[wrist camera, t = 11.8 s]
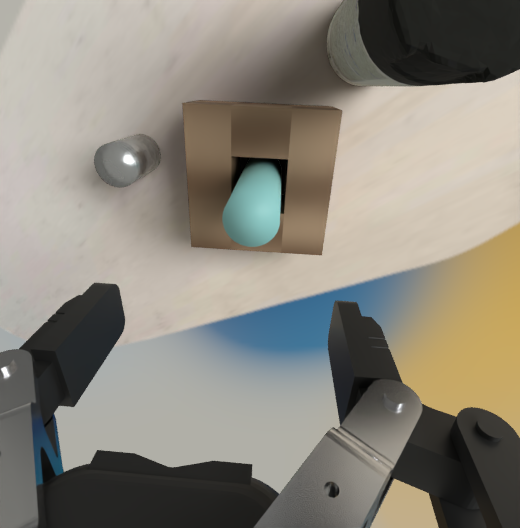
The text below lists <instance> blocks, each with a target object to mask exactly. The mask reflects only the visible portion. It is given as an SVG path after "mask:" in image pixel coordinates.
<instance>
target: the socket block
mask: <svg viewBox="0 0 520 528" xmlns="http://www.w3.org/2000/svg"><path fill="white" fill-rule="evenodd" d="M182 104H183V120H184V136H185V152H186V168H187V184H188V200H189V216H190V232H191V247H202V248H217V249H232V250H248V251H263V252H279V253H294V254H309V255H322V249H323V242H324V235H325V228H326V221H327V214H328V207H329V200H330V193H331V186H332V179H333V172H334V165H335V158H336V151H337V144H338V137H339V130H340V123H341V116H342V110H339V109H337V108H334V107H331V106H310V105H289V104H268V103H247V102H226V101H205V100H199V101H192V102H186V103H182ZM240 157H253V158H272V159H287V164H286V178H285V191H284V194H281V205H280V225H279V229H278V231H277V233H276V235H275V236H274V238H273V239H272V240H270V241H269V242H268V243H266V244H264V245H261V246H257V247H248V246H243V245H240V244H238V243H236V242H235V241H233V240H232V239H231V238H230V237H229V236H228V234H227V233H226V231H225V229H224V226H223V221H222V216H223V211H224V208H225V206H226V204H227V202H228V200H229V198H230V196H231V194H232V192H233V190H234V188H235V186H236V184H237V182H238V180H239V178H240Z"/></svg>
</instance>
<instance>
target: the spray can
mask: <svg viewBox="0 0 520 528" xmlns="http://www.w3.org/2000/svg"><path fill="white" fill-rule="evenodd" d="M327 54H328V58H329V61H330V64H331V66H332V68H333V70H334V71H335V72H336V74H337V75H338V76H339V77H340V78H341V79H342V80H344V81H346V82H348V83H350V84H352V85H356V86H427V85H444V84H457V83H476V82H483V83H484V82H488V81H493V80H496V79H498V78H501V77H503V76H506V75H508V74H510V73H512V72H515V71H517V70H519V69H520V0H343V2H342V4H341V5H340V7H339V8H338V10H337V11H336V13H335V15H334V17H333V19H332V21H331V24H330V27H329V30H328V35H327Z"/></svg>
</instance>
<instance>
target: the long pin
mask: <svg viewBox="0 0 520 528" xmlns="http://www.w3.org/2000/svg"><path fill="white" fill-rule="evenodd" d="M281 177H282V168H281V164H280V162H279V160H278V159H272V158H253V157H251V158H250V159H249V160H248V162H247V164H246V166H245V168H244V170H243V172H242V174H241V176H240V178H239V180H238V182H237V184H236V186H235V188H234V190H233V192H232V194H231V196H230V198H229V200H228V202H227V204H226V206H225V208H224V211H223V216H222V221H223V226H224V229H225V231H226V233H227V234H228V236H229V237H230V238H231V239H232V240H233V241H235V242H236V243H238V244H240V245H243V246H248V247H257V246H261V245H264V244H266V243H268V242H269V241H270V240H272V239H273V238H274V236H275V235H276V233H277V231H278V229H279V225H280V205H281Z"/></svg>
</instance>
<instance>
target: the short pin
mask: <svg viewBox="0 0 520 528" xmlns="http://www.w3.org/2000/svg"><path fill="white" fill-rule="evenodd" d="M160 159H161V154H160V149H159V147H158V145H157V144H156V142H155V141H154V140H153V139H152V138H150V137H148V136H146V135H143V134H136V135H133V136H130V137H127V138H123V139H120V140H117V141H114V142H111V143H108V144H105V145H102V146H101V147H100V148H99V149H98V150H97V151H96V154H95V157H94V164H95V168H96V171H97V173H98V174H99V176H100V177H101V178H102V179H103V180H104V181H105V182H106V183H108V184H109V185H111V186H114V187H126V186H128V185H130V184H132V183H133V182H135V181H136V180H138V179H140V178H141V177H143V176H144V175H146V174H148V173H149V172H151V171H152V170H154V169H155V168H156V167H157V166H158V165H159V163H160Z"/></svg>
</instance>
